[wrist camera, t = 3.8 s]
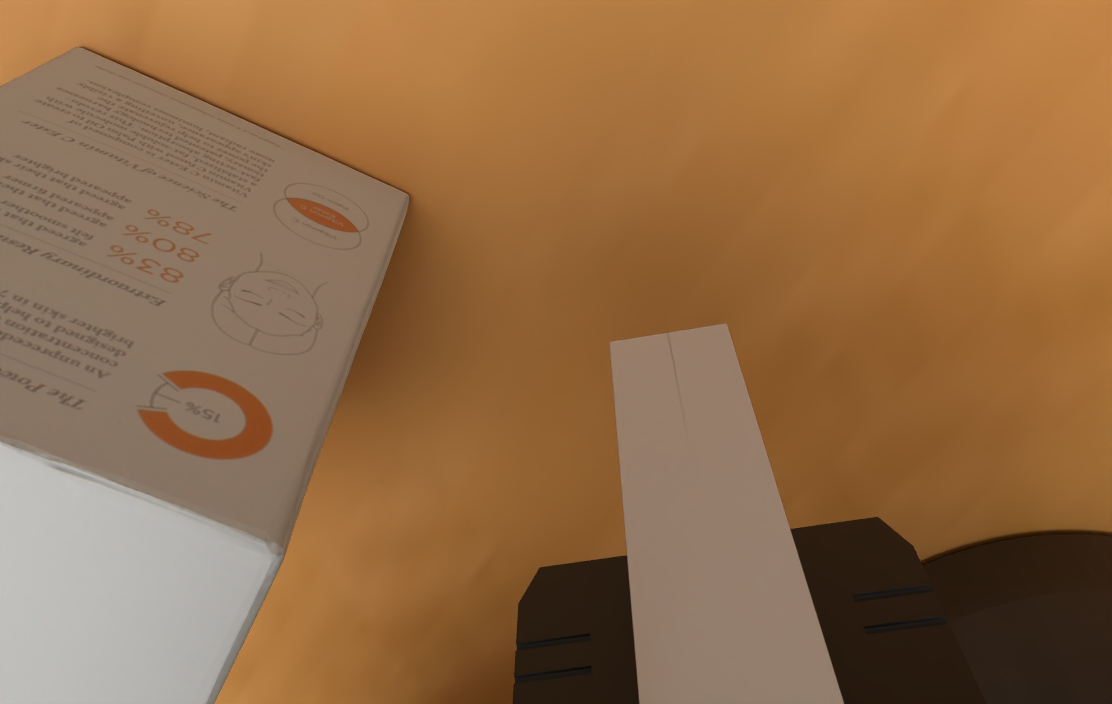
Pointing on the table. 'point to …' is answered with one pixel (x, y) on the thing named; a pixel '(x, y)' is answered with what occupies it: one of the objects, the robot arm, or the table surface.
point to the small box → (161, 373)
